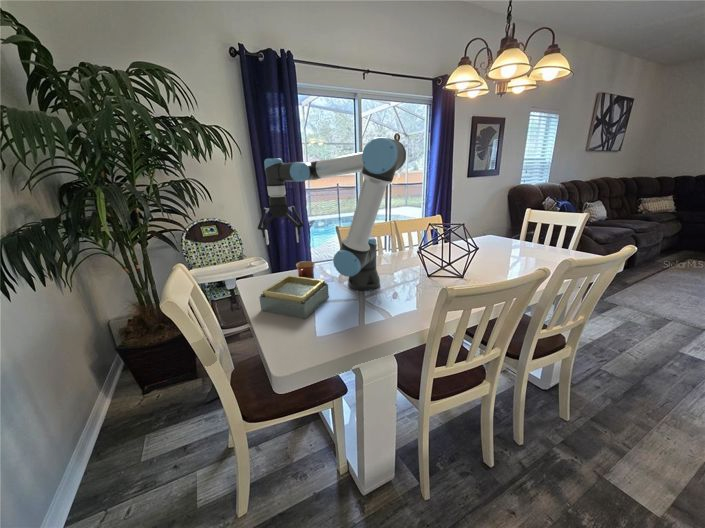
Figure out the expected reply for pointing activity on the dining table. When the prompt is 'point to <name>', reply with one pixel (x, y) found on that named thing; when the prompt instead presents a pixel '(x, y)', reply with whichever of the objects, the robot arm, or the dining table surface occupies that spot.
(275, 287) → the yellow rimmed grey box
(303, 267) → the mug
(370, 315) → the dining table surface
